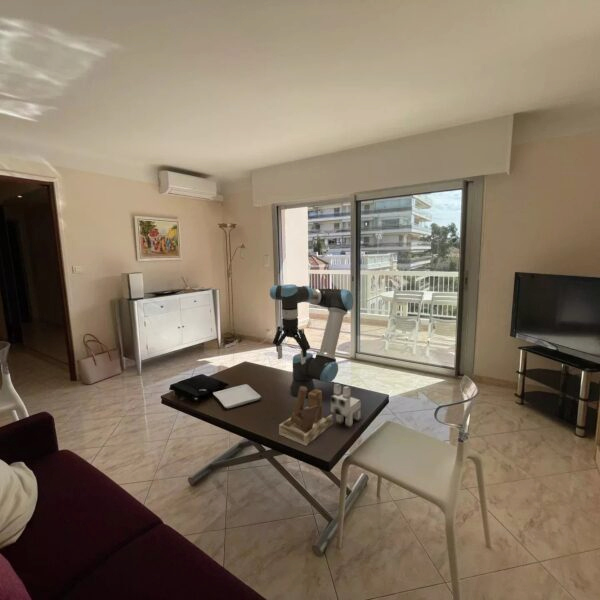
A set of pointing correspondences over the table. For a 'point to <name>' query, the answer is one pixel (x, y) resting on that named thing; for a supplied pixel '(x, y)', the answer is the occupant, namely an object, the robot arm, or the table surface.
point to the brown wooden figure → (303, 412)
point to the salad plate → (237, 396)
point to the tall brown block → (316, 403)
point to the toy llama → (345, 405)
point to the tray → (298, 435)
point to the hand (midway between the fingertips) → (291, 360)
